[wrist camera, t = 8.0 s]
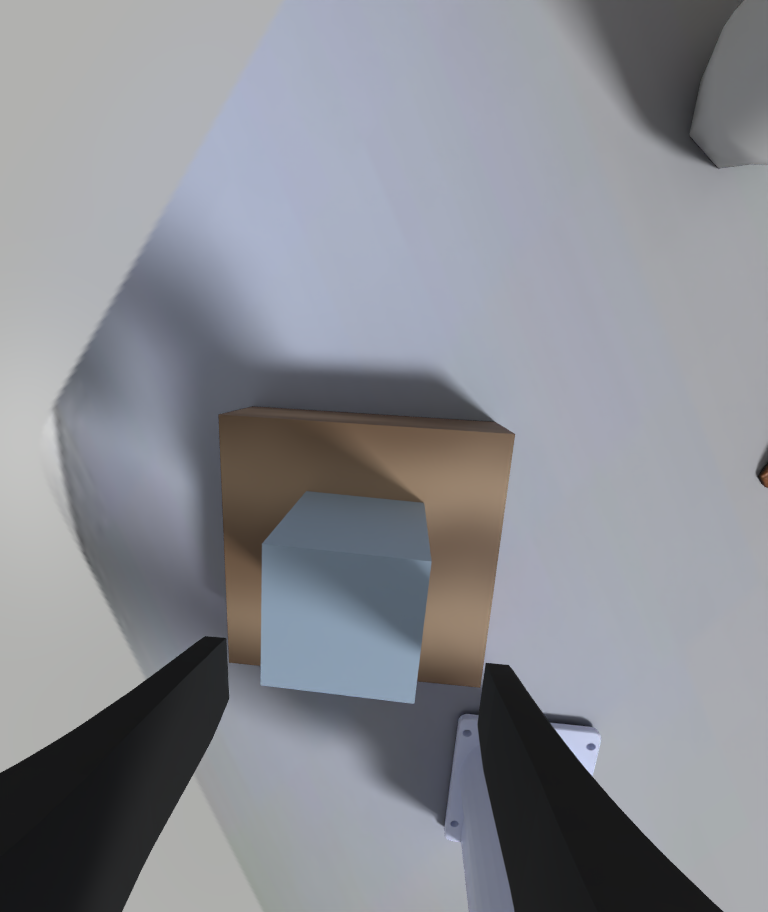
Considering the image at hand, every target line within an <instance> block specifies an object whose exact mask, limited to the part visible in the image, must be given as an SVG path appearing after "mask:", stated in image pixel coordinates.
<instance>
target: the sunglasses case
mask: <svg viewBox="0 0 768 912" xmlns="http://www.w3.org/2000/svg"><path fill="white" fill-rule="evenodd" d="M759 478H760V481H761V484H762V485H763V486H764V487H767V488H768V464H767V465H766V467H765V468H764V469H763V471H762V472H761V474H760V475H759Z"/></svg>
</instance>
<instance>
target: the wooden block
mask: <svg viewBox="0 0 768 912" xmlns="http://www.w3.org/2000/svg"><path fill="white" fill-rule="evenodd" d="M219 438H220V461H221V484H222V507H223V531H224V554H225V577H226V600H227V624H228V647H229V663H239V664H249V665H259V666H261V594H262V543H263V542H264V541H265V540H266V538H267V537H268V536H269V535H270V534H271V532H272V531H273V530H274V529H275V528H276V526H277V525H278V524H279V523H280V522H281V521H282V519H283V518H284V517H285V516H286V515H287V513H288V512H289V511H290V510H291V509H292V507H293V506H294V505H295V504H296V503H297V501H298V500H299V499H300V498H301V497H302V496H303V494H304V493H305V492H306V491H310V492H320V493H330V494H340V495H350V496H360V497H370V498H380V499H390V500H400V501H410V502H420V503H424V505H425V513H426V521H427V529H428V537H429V545H430V553H431V561H432V562H431V570H430V579H429V587H428V595H427V603H426V611H425V620H424V628H423V636H422V644H421V653H420V661H419V669H418V677H417V681H419V682H429V683H439V684H449V685H459V686H469V687H479V688H480V685H481V678H482V671H483V663H484V656H485V649H486V641H487V634H488V627H489V620H490V612H491V605H492V598H493V591H494V583H495V576H496V569H497V561H498V554H499V547H500V540H501V532H502V525H503V518H504V511H505V503H506V496H507V489H508V481H509V474H510V467H511V460H512V452H513V445H514V438H515V434H514V433H512V432H511V431H509V430H508V429H506V428H504V427H503V426H501V425H499V424H498V423H496V422H488V421H472V420H457V419H441V418H426V417H410V416H395V415H379V414H364V413H348V412H332V411H317V410H301V409H286V408H270V407H255V406H252V407H248V408H244V409H240V410H235V411H231V412H227V413H223V414H219Z"/></svg>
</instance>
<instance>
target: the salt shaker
mask: <svg viewBox="0 0 768 912" xmlns="http://www.w3.org/2000/svg"><path fill="white" fill-rule="evenodd" d="M689 135H690V137H691V138H692V139H693V140H694V141H695V142H696V143H697V145H698V146H699V147H700V148H701V149H702V150H703V151H704V152H705V154H706V155H707V156H708V157H709V158H710V159H711V160H712V162H713V163H714V164H715V165H716V166H717V167H718V168H727V167H734V166H742V165H749V164H754V165H768V0H744V1H743V2H742V3H741V4H740V5H739V7H738V8H737V9H736V10H735V11H734V12H733V14H732V15H731V17H730V18H729V20H728V21H727V23H726V24H725V25H724V27H723V29H722V32H721V34H720V37H719V39H718V41H717V44H716V46H715V48H714V51H713V53H712V55H711V58H710V60H709V62H708V65H707V67H706V69H705V72H704V74H703V76H702V79H701V81H700V86H699V91H698V96H697V101H696V105H695V110H694V115H693V120H692V125H691V129H690V134H689Z"/></svg>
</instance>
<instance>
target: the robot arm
mask: <svg viewBox="0 0 768 912" xmlns="http://www.w3.org/2000/svg"><path fill="white" fill-rule="evenodd" d="M228 700H229V687H228V666H227V645H226V638H218V637H208V636H205V637H203V638H202V639H201V640H199V641H198V642H196V643H195V644H194V645H192V646H191V647H190V648H188V649H187V650H186V651H184V652H183V653H182V654H180V655H179V656H178V657H176V658H175V659H174V660H172V661H171V662H170V663H168V664H167V665H166V666H164V667H163V668H162V669H160V670H159V671H158V672H156V673H155V674H153V675H152V676H151V677H149V678H148V679H147V680H145V681H144V682H143V683H141V684H140V685H138V686H137V687H136V688H134V689H133V690H132V691H130V692H129V693H127V694H126V695H125V696H123V697H121V698H120V699H119V700H117V701H116V702H114V703H113V704H111V705H110V706H108V707H107V708H106V709H104V710H102V711H101V712H99V713H98V714H97V715H95V716H94V717H92V718H91V719H89V720H88V721H86V722H85V723H83V724H82V725H80V726H79V727H77V728H76V729H74V730H73V731H71V732H69V733H68V734H66V735H64V736H63V737H61V738H60V739H58V740H56V741H55V742H53V743H51V744H50V745H48V746H47V747H45V748H43V749H41V750H40V751H38V752H36V753H35V754H33V755H31V756H30V757H28V758H26V759H25V760H23V761H21V762H20V763H18V764H16V765H14V766H12V767H10V768H9V769H7V770H5V771H3V772H1V773H0V912H122V910H123V908H124V906H125V904H126V902H127V900H128V898H129V895H130V893H131V891H132V889H133V887H134V885H135V882H136V880H137V878H138V876H139V874H140V872H141V870H142V868H143V866H144V864H145V862H146V860H147V858H148V856H149V854H150V852H151V850H152V848H153V846H154V844H155V842H156V841H157V839H158V837H159V835H160V833H161V832H162V830H163V828H164V826H165V824H166V823H167V821H168V818H169V817H170V815H171V814H172V811H173V810H174V808H175V806H176V804H177V803H178V801H179V799H180V797H181V795H182V794H183V792H184V790H185V788H186V786H187V785H188V783H189V781H190V779H191V777H192V776H193V774H194V772H195V770H196V768H197V766H198V765H199V763H200V761H201V759H202V757H203V755H204V754H205V752H206V750H207V748H208V746H209V744H210V742H211V740H212V738H213V736H214V734H215V731H216V729H217V727H218V724H219V722H220V720H221V717H222V715H223V712H224V710H225V708H226V705H227V703H228ZM465 730H468V731H465ZM589 743H590V744H589ZM600 743H601V736H600V734H599V732H598V730H597V729H596V728H593V727H587V726H577V725H568V724H558V723H550V722H549V721H548V719H547V718H546V717H545V715H544V714H543V713H542V711H541V710H540V708H539V707H538V706H537V704H536V703H535V701H534V700H533V699H532V697H531V696H530V694H529V693H528V691H527V690H526V689H525V687H524V686H523V684H522V683H521V681H520V680H519V678H518V677H517V676H516V674H515V673H514V671H513V670H512V668H511V667H510V666H509V665H502V664H492V663H486V666H485V673H484V680H483V687H482V695H481V702H480V709H479V715H473V714H464V715H462V716H461V717H459V720H458V727H457V735H456V743H455V750H454V758H453V766H452V773H451V781H450V788H449V796H448V804H447V811H446V819H445V827H444V831H445V837H446V838H447V839H448V840H450V841H455V842H461V845H462V854H463V863H464V873H465V882H466V891H467V900H468V909H469V912H723V911H722V910H721V909H720V908H719V907H718V906H717V905H716V904H714V903H713V902H712V901H711V900H710V899H709V898H708V897H707V896H706V895H705V894H704V893H703V892H702V891H701V890H700V889H699V888H698V887H697V886H696V885H695V884H694V883H693V882H692V881H691V880H689V879H688V878H687V877H686V876H685V875H684V874H683V873H682V872H681V871H680V870H679V869H678V868H677V867H676V866H675V865H674V864H673V863H672V862H671V861H670V860H669V859H668V858H667V857H666V856H665V855H664V854H663V853H662V852H661V851H660V850H659V849H658V848H657V847H656V846H655V845H654V844H653V843H652V842H651V841H650V840H649V839H648V838H647V837H646V836H645V835H644V834H643V833H642V832H641V830H640V829H639V828H638V827H637V826H636V825H635V824H634V823H633V822H632V821H631V820H630V819H629V818H628V816H627V815H626V814H625V813H624V812H623V811H622V810H621V809H620V808H619V807H618V806H617V804H616V803H615V802H614V801H613V800H612V799H611V798H610V797H609V795H608V794H607V793H606V792H605V791H604V790H603V788H602V787H601V786H600V785H599V784H598V783H597V781H596V780H595V779H594V778H593V777H592V776H593V772H594V768H595V764H596V760H597V756H598V751H599V747H600Z"/></svg>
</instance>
